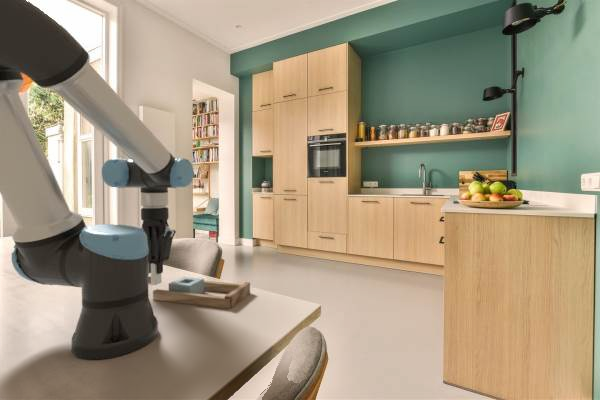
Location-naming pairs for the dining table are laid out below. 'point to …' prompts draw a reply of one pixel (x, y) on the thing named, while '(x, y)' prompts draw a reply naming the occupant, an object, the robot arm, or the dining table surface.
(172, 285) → the block
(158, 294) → the track
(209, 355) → the dining table surface
